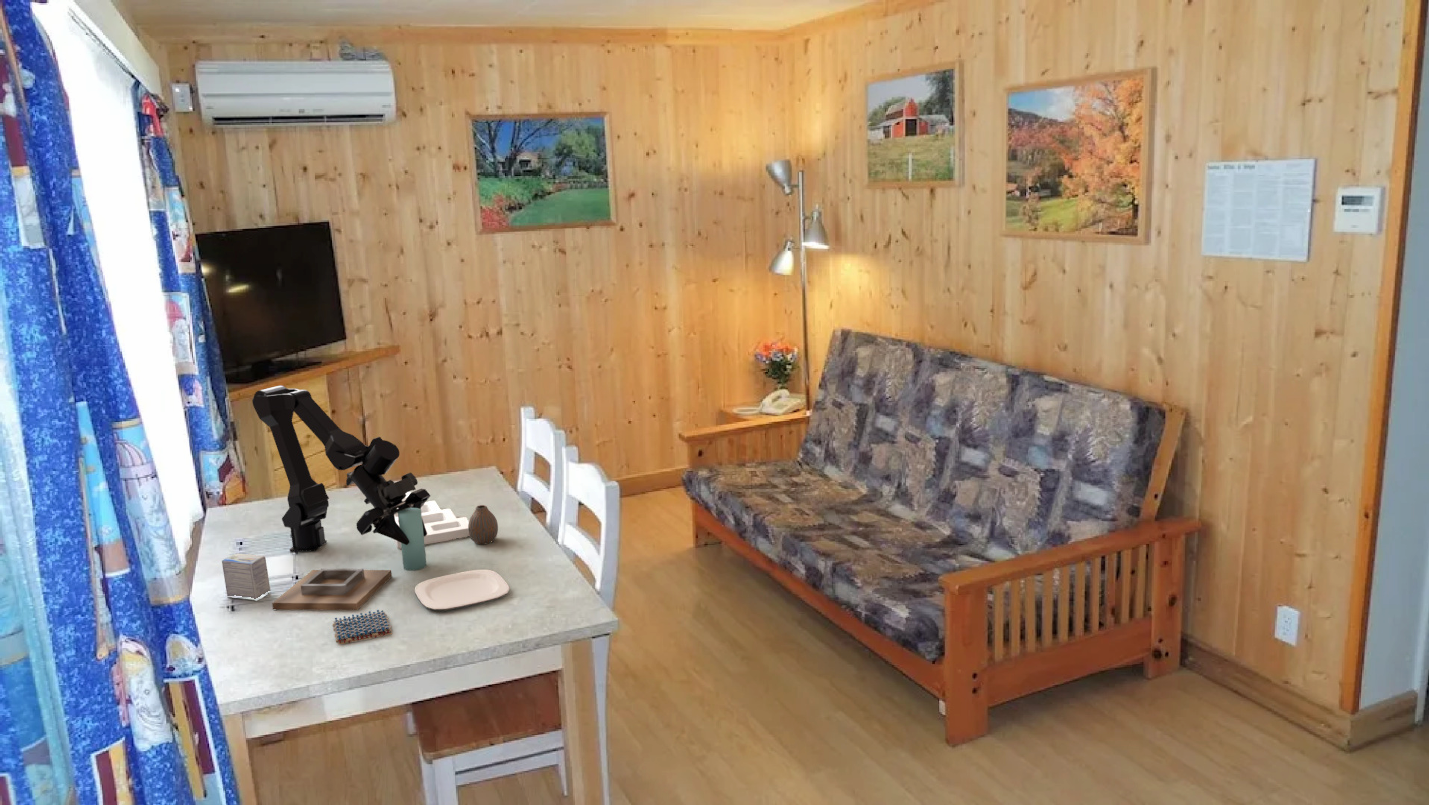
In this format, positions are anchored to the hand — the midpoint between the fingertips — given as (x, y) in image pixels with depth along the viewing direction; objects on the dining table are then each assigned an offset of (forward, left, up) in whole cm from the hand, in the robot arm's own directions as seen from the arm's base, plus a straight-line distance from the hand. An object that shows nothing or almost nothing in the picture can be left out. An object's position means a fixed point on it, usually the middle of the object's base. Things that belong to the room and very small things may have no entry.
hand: (417, 539), depth 235 cm
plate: (+15, -14, -7) cm, 22 cm away
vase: (+10, +17, -7) cm, 20 cm away
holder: (-13, +35, -7) cm, 38 cm away
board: (-13, -14, -7) cm, 21 cm away
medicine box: (-31, -16, -7) cm, 36 cm away
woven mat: (+1, -32, -7) cm, 33 cm away
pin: (-1, +1, -7) cm, 7 cm away
